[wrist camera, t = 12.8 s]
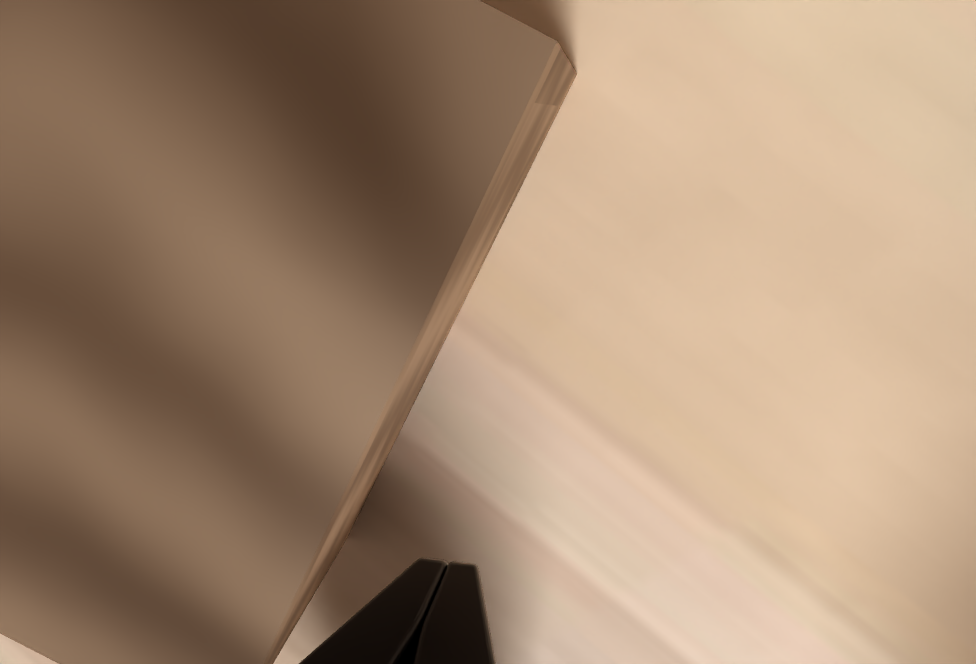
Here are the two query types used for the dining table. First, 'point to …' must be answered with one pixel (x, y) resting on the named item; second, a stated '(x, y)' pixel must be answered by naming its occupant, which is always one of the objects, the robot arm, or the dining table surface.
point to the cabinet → (230, 293)
